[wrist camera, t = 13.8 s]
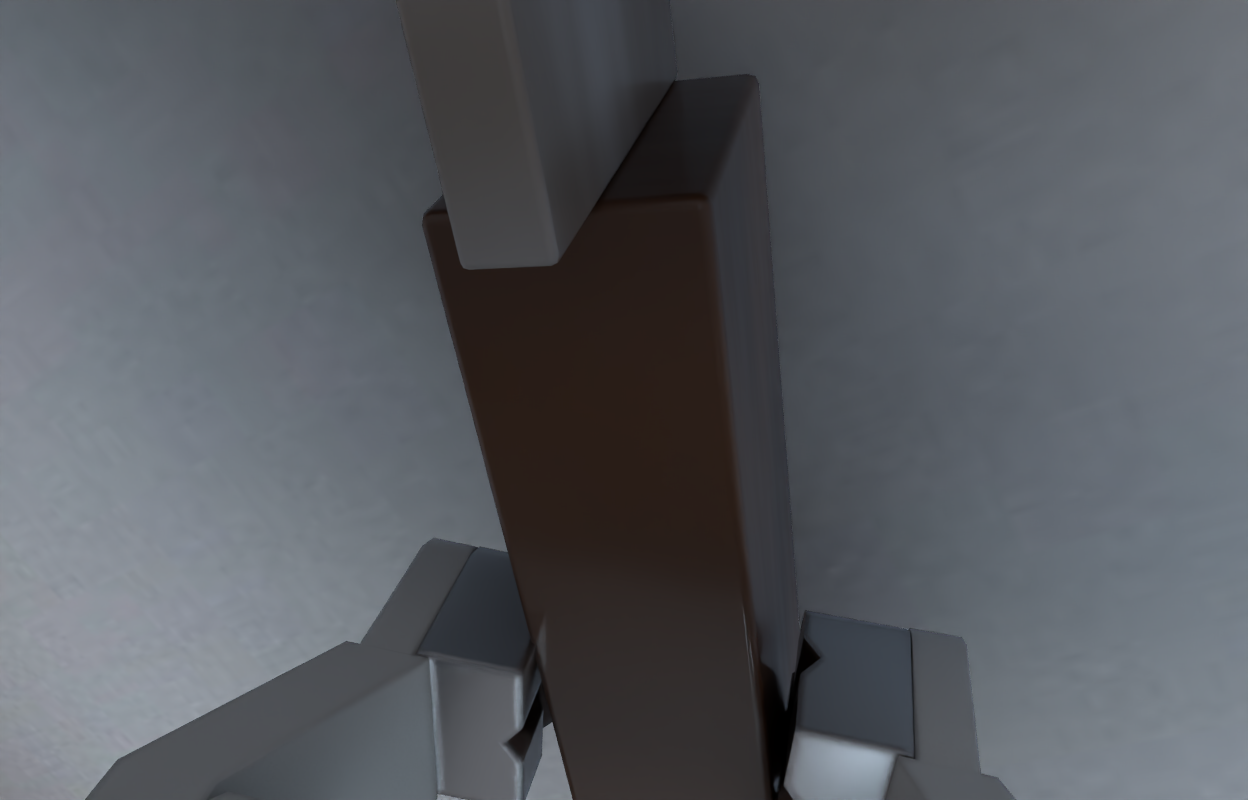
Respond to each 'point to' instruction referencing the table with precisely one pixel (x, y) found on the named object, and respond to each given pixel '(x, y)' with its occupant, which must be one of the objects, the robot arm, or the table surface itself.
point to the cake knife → (620, 378)
